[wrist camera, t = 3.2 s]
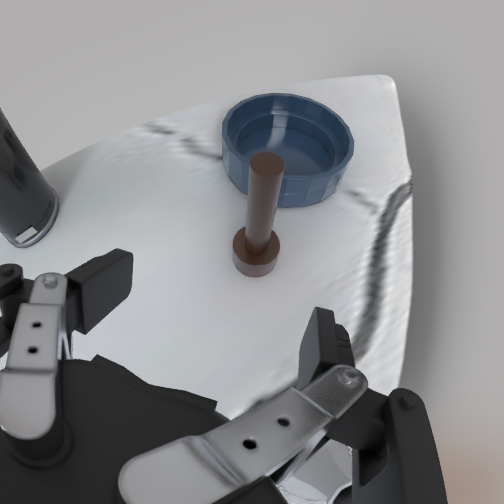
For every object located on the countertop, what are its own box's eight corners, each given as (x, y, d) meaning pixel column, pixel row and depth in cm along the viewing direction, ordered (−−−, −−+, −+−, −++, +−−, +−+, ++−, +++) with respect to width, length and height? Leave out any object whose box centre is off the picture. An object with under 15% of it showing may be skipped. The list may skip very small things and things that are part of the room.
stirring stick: (227, 270, 30) (222, 181, 17) (240, 233, 32) (243, 133, 19) (270, 282, 29) (295, 199, 17) (280, 244, 31) (307, 149, 19)
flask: (319, 417, 24) (362, 430, 15) (364, 462, 22) (418, 486, 13) (259, 466, 22) (272, 505, 13) (308, 510, 19) (340, 556, 10)
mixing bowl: (205, 191, 34) (201, 159, 29) (243, 114, 40) (244, 84, 35) (334, 225, 33) (349, 197, 28) (344, 139, 39) (355, 111, 34)
